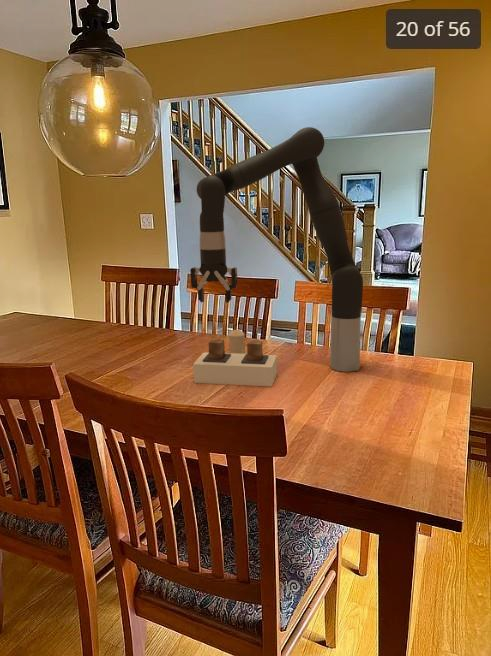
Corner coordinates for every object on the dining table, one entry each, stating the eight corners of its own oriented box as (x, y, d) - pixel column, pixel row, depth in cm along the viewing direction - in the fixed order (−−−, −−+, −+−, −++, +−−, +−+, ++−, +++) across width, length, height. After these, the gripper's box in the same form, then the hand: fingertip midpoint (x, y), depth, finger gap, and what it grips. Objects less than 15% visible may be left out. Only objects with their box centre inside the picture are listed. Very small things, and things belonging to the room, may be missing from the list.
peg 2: (262, 361, 153) (262, 340, 151) (260, 365, 149) (260, 344, 147) (249, 360, 154) (249, 340, 152) (247, 364, 150) (247, 343, 148)
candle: (243, 360, 170) (242, 332, 168) (227, 359, 171) (227, 332, 169) (246, 355, 175) (245, 328, 173) (231, 355, 177) (230, 328, 174)
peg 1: (225, 359, 155) (224, 339, 153) (221, 363, 151) (221, 342, 150) (212, 359, 156) (211, 339, 154) (209, 363, 152) (208, 342, 150)
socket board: (277, 372, 157) (277, 353, 155) (271, 386, 146) (271, 365, 144) (204, 369, 162) (203, 350, 160) (193, 382, 150) (192, 362, 149)
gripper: (239, 246, 147) (240, 300, 151) (193, 246, 150) (195, 299, 154) (233, 248, 140) (235, 305, 144) (185, 248, 143) (188, 304, 147)
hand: (214, 301), depth 149 cm, fingers open, 7 cm apart
